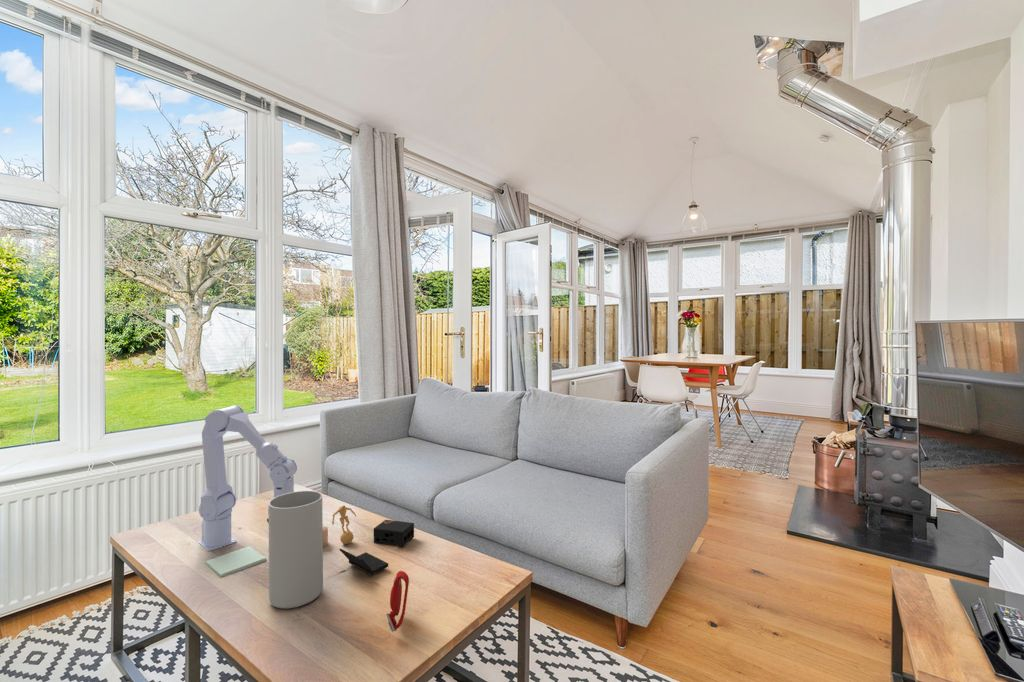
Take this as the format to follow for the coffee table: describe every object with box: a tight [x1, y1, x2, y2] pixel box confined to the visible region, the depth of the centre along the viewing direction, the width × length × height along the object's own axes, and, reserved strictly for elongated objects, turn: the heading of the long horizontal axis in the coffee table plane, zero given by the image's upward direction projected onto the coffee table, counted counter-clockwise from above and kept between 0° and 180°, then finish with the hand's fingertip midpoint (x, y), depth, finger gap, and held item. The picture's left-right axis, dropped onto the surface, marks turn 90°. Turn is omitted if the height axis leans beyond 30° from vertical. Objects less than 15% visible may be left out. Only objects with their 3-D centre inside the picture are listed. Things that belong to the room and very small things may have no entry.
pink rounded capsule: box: [323, 526, 329, 548], centre depth 142 cm, size 5×5×5 cm
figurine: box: [331, 505, 357, 545], centre depth 144 cm, size 8×6×12 cm
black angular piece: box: [338, 548, 389, 576], centre depth 128 cm, size 12×7×10 cm
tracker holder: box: [386, 570, 410, 633], centre depth 105 cm, size 12×4×10 cm, turn 5°
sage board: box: [204, 545, 267, 578], centre depth 131 cm, size 12×12×1 cm
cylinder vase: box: [267, 490, 324, 610], centre depth 115 cm, size 12×12×25 cm
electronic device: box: [373, 519, 415, 548], centre depth 146 cm, size 7×11×5 cm
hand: (284, 540), depth 142 cm, fingers open, 6 cm apart
